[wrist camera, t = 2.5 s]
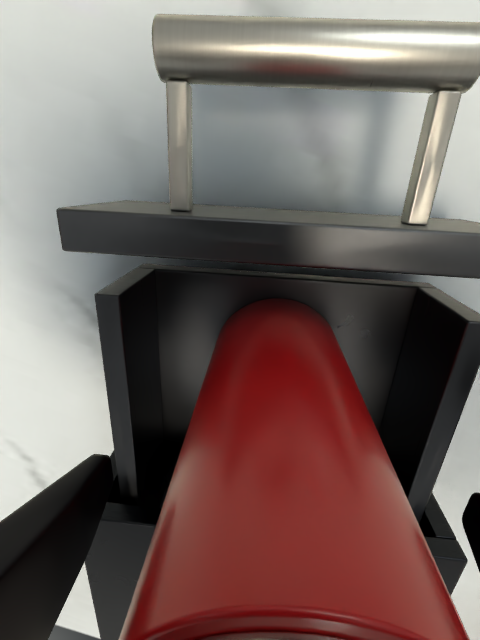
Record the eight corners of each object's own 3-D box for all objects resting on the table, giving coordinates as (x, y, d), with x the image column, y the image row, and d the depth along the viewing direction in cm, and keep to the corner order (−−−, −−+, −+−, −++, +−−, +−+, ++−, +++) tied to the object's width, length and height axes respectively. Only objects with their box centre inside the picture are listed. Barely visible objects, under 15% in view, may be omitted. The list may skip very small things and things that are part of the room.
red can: (347, 302, 13) (606, 689, 3) (327, 410, 15) (444, 853, 5) (216, 293, 14) (64, 618, 3) (214, 399, 16) (114, 802, 5)
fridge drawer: (113, 59, 12) (18, -18, 7) (505, 72, 11) (666, -3, 7) (147, 478, 19) (111, 565, 15) (377, 502, 19) (412, 600, 14)
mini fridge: (137, 408, 19) (74, 517, 13) (400, 432, 18) (469, 561, 12) (153, 586, 25) (116, 716, 19) (347, 610, 24) (373, 752, 18)
